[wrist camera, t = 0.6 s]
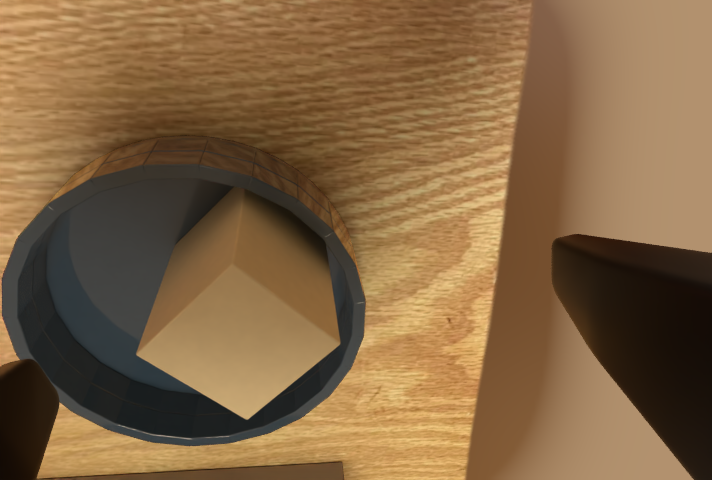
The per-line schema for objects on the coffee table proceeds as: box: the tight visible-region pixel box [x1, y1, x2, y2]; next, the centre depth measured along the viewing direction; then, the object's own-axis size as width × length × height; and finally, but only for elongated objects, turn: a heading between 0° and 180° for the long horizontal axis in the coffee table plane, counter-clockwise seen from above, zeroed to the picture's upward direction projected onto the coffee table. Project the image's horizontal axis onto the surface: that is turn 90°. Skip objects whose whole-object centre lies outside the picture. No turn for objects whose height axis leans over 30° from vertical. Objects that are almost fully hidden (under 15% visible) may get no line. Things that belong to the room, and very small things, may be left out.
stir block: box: [136, 187, 340, 420], centre depth 21 cm, size 5×5×8 cm
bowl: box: [2, 135, 366, 446], centre depth 24 cm, size 15×15×4 cm
